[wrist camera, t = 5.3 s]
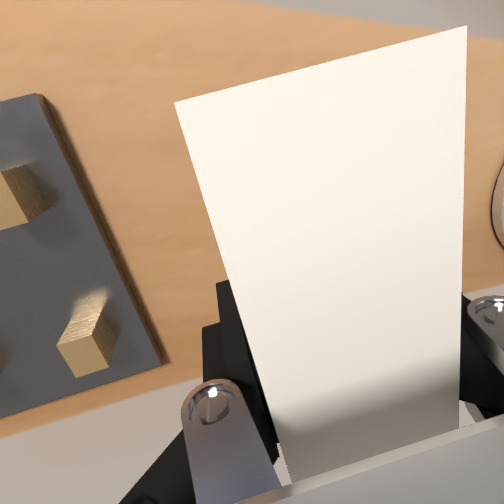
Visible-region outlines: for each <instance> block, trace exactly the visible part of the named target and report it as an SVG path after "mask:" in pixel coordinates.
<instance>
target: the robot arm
mask: <svg viewBox="0 0 504 504" xmlns="http://www.w3.org/2000/svg"><path fill="white" fill-rule="evenodd" d="M492 217H493V225H494V228H495V232H496V235H497V237H498V238H499V240H500V242H501V243H502V245H503V246H504V165H503V167H502V170H501V172H500V174H499V177H498V180H497V183H496V187H495V191H494V195H493V205H492ZM216 290H217V299H218V308H219V317H220V322H219V323H216V324H212V325H209V326H206V327H203V328H202V353H203V383H202V384H201V385H199V386H197V387H196V388H195V389H194V390H193V391H192V392H190V393H189V395H188V396H187V397H186V399H185V401H184V402H183V405H182V408H181V420H182V426H183V430H182V431H181V432H180V433H179V434H178V435H177V437H176V438H175V439H174V440H173V441H172V442H171V443H170V445H169V446H168V447H167V448H166V449H165V450H164V452H163V453H162V454H161V455H160V456H159V457H158V459H157V460H156V461H155V462H154V463H153V464H152V465H151V467H150V468H149V469H148V470H147V471H146V472H145V474H144V475H143V476H142V477H141V478H140V479H139V481H138V482H137V483H136V484H135V485H134V486H133V488H132V489H131V490H130V491H129V492H128V493H127V494H126V496H125V497H124V498H123V499H122V500H121V502H120V503H119V504H504V296H484V297H480V298H477V299H475V300H473V301H471V300H469V299H467V298H466V297H465V296H463V295H462V292H461V334H460V381H459V400H462V401H465V405H466V407H467V409H468V411H469V413H470V414H471V416H472V417H473V419H474V420H475V422H476V423H474V424H471V425H468V426H465V427H462V428H459V429H456V430H453V431H450V432H447V433H443V434H440V435H437V436H434V437H431V438H428V439H425V440H422V441H419V442H416V443H413V444H410V445H407V446H404V447H401V448H398V449H395V450H391V451H388V452H385V453H382V454H379V455H376V456H373V457H370V458H367V459H364V460H361V461H358V462H355V463H352V464H349V465H346V466H343V467H340V468H337V469H334V470H331V471H328V472H325V473H322V474H319V475H316V476H313V477H310V478H307V479H304V480H301V481H298V482H295V483H292V484H289V485H286V486H283V487H282V486H281V483H280V481H279V479H278V477H277V474H276V472H275V470H274V467H273V465H274V463H275V462H276V460H277V458H278V457H280V456H279V452H278V449H277V444H276V443H279V439H278V436H277V433H276V430H275V426H274V423H273V420H272V417H271V414H270V410H269V407H268V404H267V401H266V398H265V394H264V391H263V388H262V385H261V381H260V378H259V375H258V372H257V369H256V365H255V362H254V359H253V356H252V352H251V349H250V346H249V343H248V340H247V336H246V333H245V330H244V327H243V324H242V320H241V317H240V314H239V311H238V307H237V304H236V301H235V298H234V295H233V291H232V288H231V285H230V282H229V280H226V281H222V282H219V283H216Z"/></svg>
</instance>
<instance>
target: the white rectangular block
mask: <svg viewBox="0 0 504 504" xmlns="http://www.w3.org/2000/svg"><path fill="white" fill-rule="evenodd" d="M466 48H467V26H463V27H459V28H455V29H451V30H448V31H444V32H440V33H436V34H432V35H429V36H425V37H421V38H417V39H413V40H410V41H406V42H402V43H398V44H394V45H391V46H387V47H383V48H379V49H376V50H372V51H368V52H364V53H360V54H357V55H353V56H349V57H345V58H341V59H338V60H334V61H330V62H326V63H323V64H319V65H315V66H311V67H307V68H304V69H300V70H296V71H292V72H288V73H285V74H281V75H277V76H273V77H270V78H266V79H262V80H258V81H254V82H251V83H247V84H243V85H239V86H235V87H232V88H228V89H224V90H220V91H217V92H213V93H209V94H205V95H201V96H198V97H194V98H190V99H186V100H182V101H179V102H175V103H174V105H175V108H176V111H177V114H178V118H179V121H180V124H181V127H182V130H183V134H184V137H185V140H186V143H187V147H188V150H189V153H190V156H191V159H192V163H193V166H194V169H195V172H196V175H197V179H198V182H199V185H200V188H201V192H202V195H203V198H204V201H205V204H206V208H207V211H208V214H209V217H210V221H211V224H212V227H213V230H214V233H215V237H216V240H217V243H218V246H219V250H220V253H221V256H222V259H223V262H224V266H225V269H226V272H227V275H228V278H229V282H230V285H231V288H232V291H233V295H234V298H235V301H236V304H237V307H238V311H239V314H240V317H241V320H242V324H243V327H244V330H245V333H246V336H247V340H248V343H249V346H250V349H251V352H252V356H253V359H254V362H255V365H256V369H257V372H258V375H259V378H260V381H261V385H262V388H263V391H264V394H265V398H266V401H267V404H268V407H269V410H270V414H271V417H272V420H273V423H274V426H275V430H276V433H277V436H278V439H279V443H280V446H281V449H282V452H283V455H284V459H285V462H286V465H287V468H288V471H289V475H290V478H291V481H292V483H295V482H298V481H301V480H304V479H307V478H310V477H313V476H316V475H319V474H322V473H325V472H328V471H331V470H334V469H337V468H340V467H343V466H346V465H349V464H352V463H355V462H358V461H361V460H364V459H367V458H370V457H373V456H376V455H379V454H382V453H385V452H388V451H391V450H395V449H398V448H401V447H404V446H407V445H410V444H413V443H416V442H419V441H422V440H425V439H428V438H431V437H434V436H437V435H440V434H443V433H447V432H450V431H453V430H456V429H459V381H460V334H461V286H462V239H463V191H464V143H465V96H466Z"/></svg>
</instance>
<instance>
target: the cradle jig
mask: <svg viewBox="0 0 504 504" xmlns="http://www.w3.org/2000/svg"><path fill="white" fill-rule="evenodd" d="M161 364H162V354H161V352H160V350H159V348H158V346H157V344H156V341H155V339H154V337H153V335H152V333H151V330H150V328H149V326H148V324H147V322H146V320H145V317H144V315H143V313H142V311H141V309H140V306H139V304H138V302H137V300H136V298H135V296H134V293H133V291H132V289H131V287H130V285H129V283H128V280H127V278H126V276H125V274H124V272H123V269H122V267H121V265H120V263H119V261H118V259H117V256H116V254H115V252H114V250H113V248H112V245H111V243H110V241H109V239H108V237H107V235H106V232H105V230H104V228H103V226H102V224H101V222H100V219H99V217H98V215H97V213H96V211H95V208H94V206H93V204H92V202H91V200H90V198H89V195H88V193H87V191H86V189H85V187H84V184H83V182H82V180H81V178H80V176H79V174H78V171H77V169H76V167H75V165H74V163H73V161H72V158H71V156H70V154H69V152H68V150H67V147H66V145H65V143H64V141H63V139H62V137H61V134H60V132H59V130H58V128H57V126H56V123H55V121H54V119H53V117H52V115H51V113H50V110H49V108H48V106H47V104H46V102H45V99H44V97H43V95H42V94H36V93H33V94H29V95H25V96H21V97H17V98H13V99H9V100H5V101H1V102H0V418H1V417H4V416H7V415H10V414H13V413H16V412H19V411H22V410H26V409H29V408H32V407H35V406H38V405H41V404H44V403H47V402H50V401H53V400H56V399H59V398H62V397H66V396H69V395H72V394H75V393H78V392H81V391H84V390H87V389H90V388H93V387H96V386H99V385H102V384H106V383H109V382H112V381H115V380H118V379H121V378H124V377H127V376H130V375H133V374H136V373H139V372H142V371H146V370H149V369H152V368H155V367H158V366H161Z"/></svg>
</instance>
